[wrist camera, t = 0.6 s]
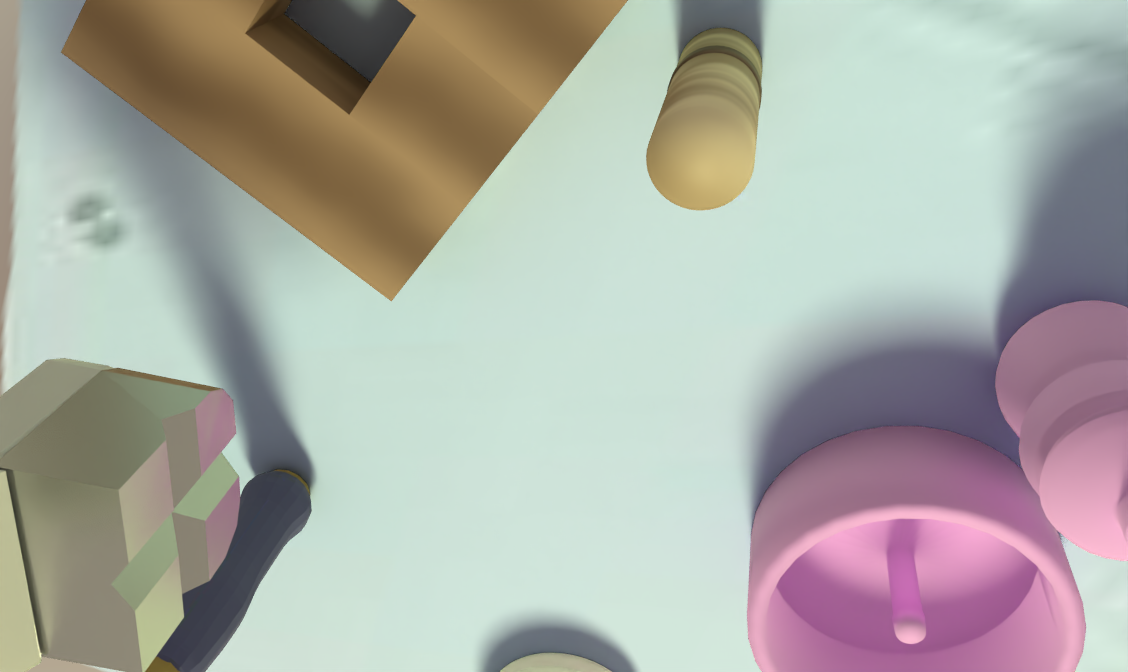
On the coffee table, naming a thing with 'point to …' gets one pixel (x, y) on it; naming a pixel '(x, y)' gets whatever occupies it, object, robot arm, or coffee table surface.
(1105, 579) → the coffee table surface
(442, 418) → the coffee table surface
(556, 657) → the cream round disc
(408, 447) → the coffee table surface
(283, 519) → the rubber mallet
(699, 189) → the maple dowel
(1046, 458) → the container set
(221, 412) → the robot arm
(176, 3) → the walnut board
